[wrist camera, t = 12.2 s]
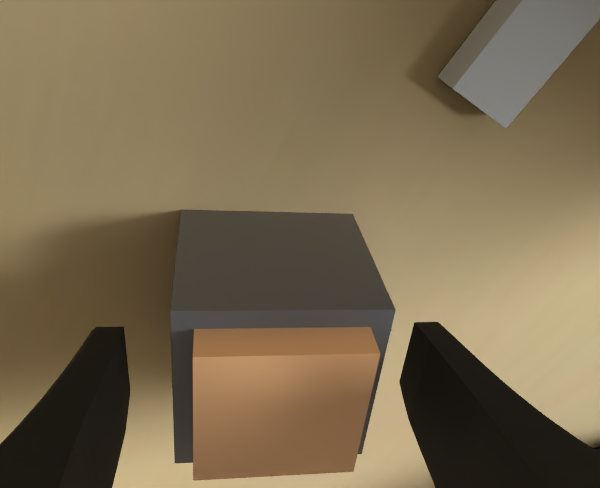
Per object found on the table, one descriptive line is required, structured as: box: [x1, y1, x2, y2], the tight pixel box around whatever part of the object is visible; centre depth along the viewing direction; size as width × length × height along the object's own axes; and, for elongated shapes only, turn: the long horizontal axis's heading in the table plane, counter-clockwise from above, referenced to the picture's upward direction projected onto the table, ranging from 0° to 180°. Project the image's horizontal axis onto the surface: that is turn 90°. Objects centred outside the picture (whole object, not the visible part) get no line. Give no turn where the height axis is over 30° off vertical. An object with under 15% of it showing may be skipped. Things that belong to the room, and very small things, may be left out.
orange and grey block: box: [170, 210, 395, 480], centre depth 13 cm, size 4×4×5 cm
